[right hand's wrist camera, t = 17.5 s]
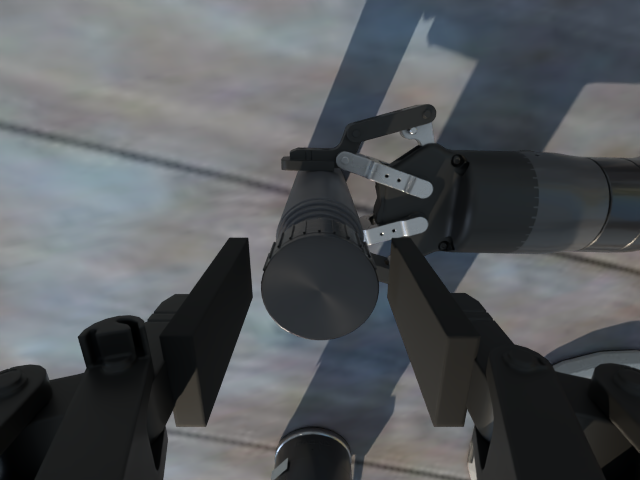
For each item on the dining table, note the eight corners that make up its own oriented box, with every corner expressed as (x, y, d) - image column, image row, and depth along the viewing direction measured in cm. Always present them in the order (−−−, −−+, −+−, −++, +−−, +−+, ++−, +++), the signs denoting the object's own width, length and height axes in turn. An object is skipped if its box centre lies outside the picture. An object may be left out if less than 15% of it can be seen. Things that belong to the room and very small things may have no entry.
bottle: (286, 173, 32) (238, 265, 13) (328, 147, 31) (341, 205, 12) (312, 213, 33) (301, 349, 14) (352, 190, 32) (398, 300, 13)
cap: (394, 260, 14) (406, 283, 12) (327, 330, 16) (328, 360, 14) (311, 194, 13) (310, 208, 12) (246, 274, 15) (235, 299, 13)
